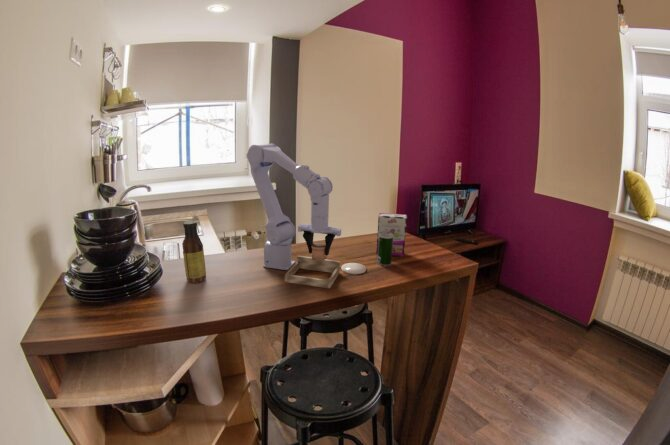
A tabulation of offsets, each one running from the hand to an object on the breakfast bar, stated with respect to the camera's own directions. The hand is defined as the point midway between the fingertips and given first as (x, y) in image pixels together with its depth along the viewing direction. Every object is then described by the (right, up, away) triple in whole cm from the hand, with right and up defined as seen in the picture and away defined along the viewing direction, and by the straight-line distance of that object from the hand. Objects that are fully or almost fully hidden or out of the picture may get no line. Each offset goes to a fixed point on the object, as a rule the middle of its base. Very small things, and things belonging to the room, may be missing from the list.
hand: (319, 253), depth 125 cm
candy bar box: (+28, -2, +25) cm, 38 cm away
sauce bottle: (-41, -9, -3) cm, 42 cm away
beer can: (+24, -5, +15) cm, 29 cm away
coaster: (+12, -6, +9) cm, 17 cm away
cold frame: (-2, -8, +2) cm, 9 cm away
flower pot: (0, -2, 0) cm, 2 cm away
